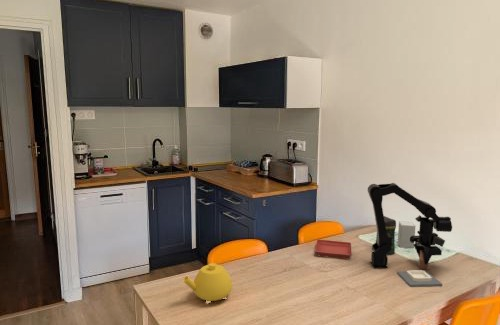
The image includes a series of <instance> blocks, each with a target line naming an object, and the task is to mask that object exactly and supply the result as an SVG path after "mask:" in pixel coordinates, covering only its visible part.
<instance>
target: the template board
mask: <svg viewBox="0 0 500 325" xmlns="http://www.w3.org/2000/svg"><path fill="white" fill-rule="evenodd" d="M396 274H397V275H398V276H399V278H401V279H402V281H404V283H405V284H407V286H409V288H417V287H419V288H420V287H427V288H428V287H443V283H442V282H441V281H440V280H438V279H437V278H436V277H435V276H433V275H432V273H430V272H429V271H428V270H423V269H420V270H418V269H416V270H415V269H414V270H413V269H412V270H411V269H410V270H405V271H402V270H401V271H397V270H396Z"/></svg>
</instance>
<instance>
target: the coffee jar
mask: <svg viewBox="0 0 500 325" xmlns="http://www.w3.org/2000/svg"><path fill="white" fill-rule="evenodd" d="M384 221H385V227H386V233H389V234H390V236H391V237H392V244H393V246H392V245H391V246H392V249H391V250H390V251H389V252H388V253H387V255H389V256H390V255H393V254H395V253H396V252H395V250H396V246H395V243H396V242H395V237H396V233H395V232H396V228H397V220H395V219H393V218H390V217H388V216H385V215H384ZM375 238H376V239H375V243H376V242H377V236H376V237H375Z"/></svg>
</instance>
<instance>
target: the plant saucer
mask: <svg viewBox="0 0 500 325" xmlns="http://www.w3.org/2000/svg"><path fill="white" fill-rule="evenodd" d="M352 251H353V250H352V243H351V242H348V241H338V240H327V239H326V240H325V239H317V240H316V244H315V250H314V252H315V253H316V255H318V256H319V255H320V256H319V257H325V256H328V257H327V258H335V257H338V259H346V258H348V259H349V258H350V257H351V256H352V255H353V252H352Z"/></svg>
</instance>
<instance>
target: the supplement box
mask: <svg viewBox="0 0 500 325" xmlns="http://www.w3.org/2000/svg"><path fill="white" fill-rule="evenodd" d="M397 235H398V236H397V244H398V246H399V248H405V249H415V247H414V245H413V244H415V241H414V243H412V242H410V237H411V236H416V225H415V223H414V222H413V221H398V232H397Z"/></svg>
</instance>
